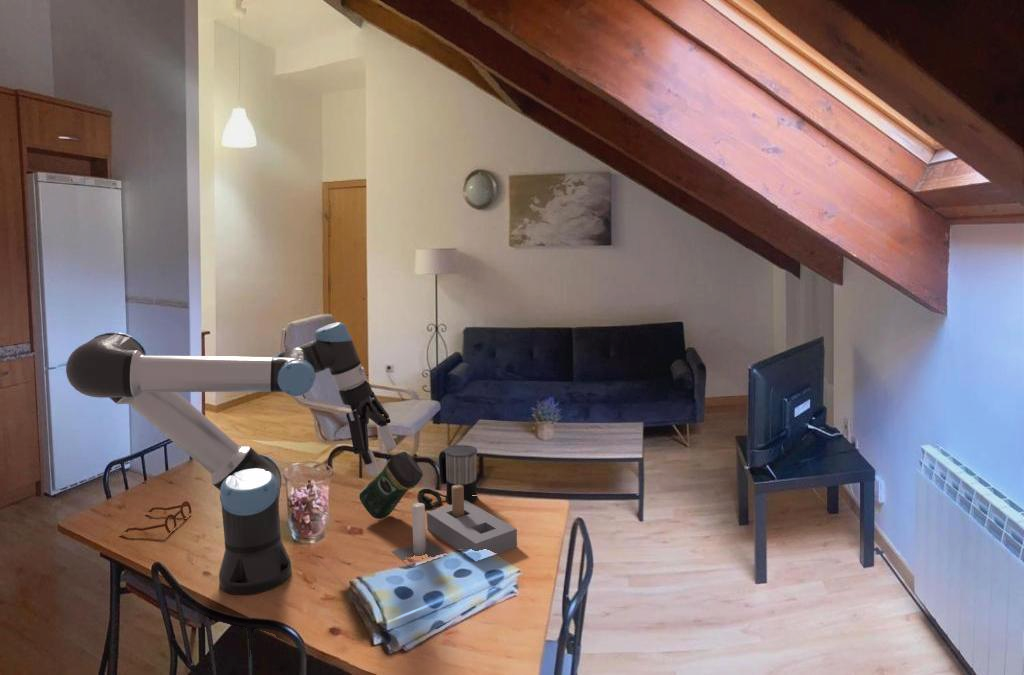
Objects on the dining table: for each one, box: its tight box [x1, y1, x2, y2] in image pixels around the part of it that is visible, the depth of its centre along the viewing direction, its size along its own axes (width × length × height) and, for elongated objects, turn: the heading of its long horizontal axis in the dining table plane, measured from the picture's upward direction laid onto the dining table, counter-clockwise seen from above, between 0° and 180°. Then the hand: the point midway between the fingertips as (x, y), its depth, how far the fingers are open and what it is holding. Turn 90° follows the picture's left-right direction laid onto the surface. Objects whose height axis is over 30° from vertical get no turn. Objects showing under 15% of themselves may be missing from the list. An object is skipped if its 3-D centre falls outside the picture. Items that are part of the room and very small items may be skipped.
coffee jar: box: [358, 451, 424, 520], centre depth 179 cm, size 10×8×19 cm
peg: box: [411, 502, 427, 556], centre depth 161 cm, size 3×3×12 cm
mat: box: [391, 539, 447, 562], centre depth 162 cm, size 10×10×1 cm
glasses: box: [123, 500, 192, 534], centre depth 180 cm, size 13×13×5 cm
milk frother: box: [416, 444, 479, 509], centre depth 191 cm, size 14×16×15 cm
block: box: [426, 485, 518, 555], centre depth 169 cm, size 12×22×12 cm, turn 38°
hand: (383, 460), depth 171 cm, fingers open, 13 cm apart
